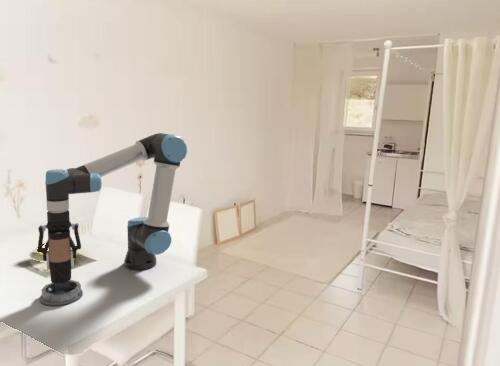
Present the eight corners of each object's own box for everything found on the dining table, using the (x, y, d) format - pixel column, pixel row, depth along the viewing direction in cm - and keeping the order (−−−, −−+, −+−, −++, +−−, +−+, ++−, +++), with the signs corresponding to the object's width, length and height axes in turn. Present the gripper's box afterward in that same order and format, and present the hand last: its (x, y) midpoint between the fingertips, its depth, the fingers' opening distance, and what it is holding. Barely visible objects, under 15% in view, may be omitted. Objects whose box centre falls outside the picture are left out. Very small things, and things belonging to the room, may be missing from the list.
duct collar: (87, 287, 156) (87, 279, 156) (75, 305, 142) (75, 296, 141) (49, 288, 155) (48, 279, 154) (33, 306, 140) (32, 296, 139)
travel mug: (63, 285, 143) (60, 234, 139) (45, 282, 144) (43, 232, 141) (76, 277, 150) (74, 228, 146) (59, 274, 151) (57, 226, 148)
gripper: (87, 206, 149) (89, 261, 153) (28, 209, 142) (32, 266, 146) (87, 211, 143) (89, 268, 147) (25, 214, 135) (28, 274, 139)
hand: (60, 267), depth 146 cm, fingers closed on travel mug, 8 cm apart
